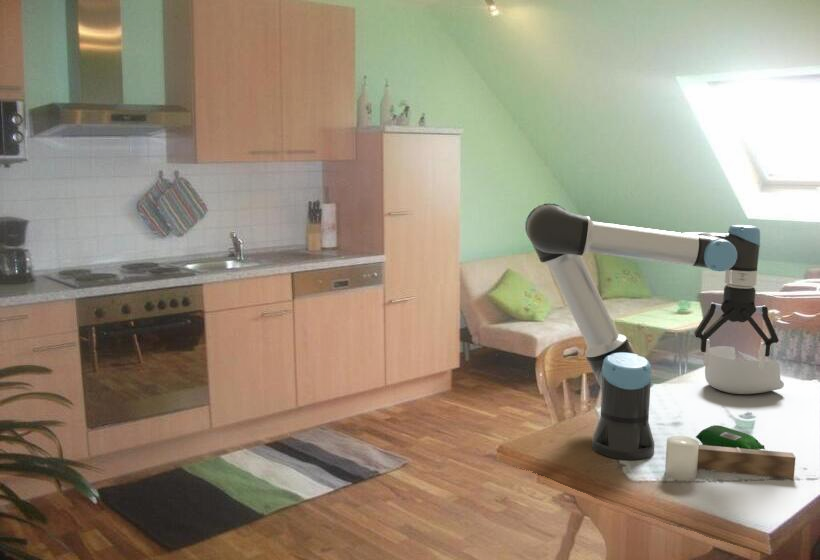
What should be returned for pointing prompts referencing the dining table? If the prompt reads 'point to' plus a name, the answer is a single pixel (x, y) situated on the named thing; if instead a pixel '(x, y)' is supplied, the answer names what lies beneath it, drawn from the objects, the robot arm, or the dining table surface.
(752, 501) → the dining table surface
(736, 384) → the bowl
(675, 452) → the white tall rounded block
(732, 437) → the snack package
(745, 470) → the batten
